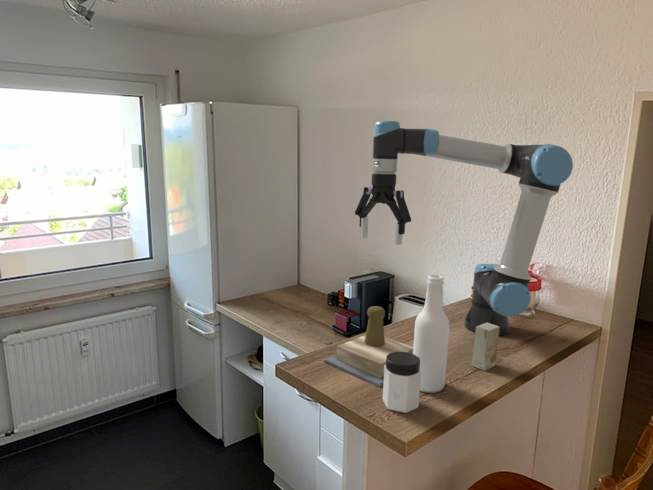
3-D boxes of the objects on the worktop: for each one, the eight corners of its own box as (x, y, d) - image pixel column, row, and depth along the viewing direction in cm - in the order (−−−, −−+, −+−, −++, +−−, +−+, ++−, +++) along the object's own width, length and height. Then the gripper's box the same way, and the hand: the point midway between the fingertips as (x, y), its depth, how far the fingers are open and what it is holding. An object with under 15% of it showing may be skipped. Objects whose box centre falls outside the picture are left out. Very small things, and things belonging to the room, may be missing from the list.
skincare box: (484, 371, 141) (488, 331, 138) (471, 366, 144) (474, 326, 141) (496, 365, 145) (500, 326, 142) (483, 360, 148) (486, 321, 146)
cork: (367, 337, 150) (369, 302, 148) (386, 340, 148) (388, 305, 146) (361, 344, 145) (363, 308, 142) (382, 348, 143) (384, 311, 140)
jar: (378, 407, 119) (380, 361, 117) (386, 392, 127) (389, 348, 124) (414, 416, 116) (418, 368, 114) (421, 400, 124) (424, 355, 121)
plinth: (371, 342, 159) (372, 328, 158) (425, 362, 145) (426, 347, 144) (324, 362, 143) (324, 346, 142) (378, 386, 130) (379, 369, 129)
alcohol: (409, 376, 136) (417, 271, 130) (442, 379, 135) (451, 273, 129) (411, 392, 127) (419, 280, 121) (446, 395, 126) (456, 282, 120)
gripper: (345, 170, 157) (343, 236, 161) (411, 175, 140) (406, 249, 144) (360, 170, 162) (358, 234, 166) (425, 175, 145) (420, 246, 149)
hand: (380, 241), depth 155 cm, fingers open, 13 cm apart
